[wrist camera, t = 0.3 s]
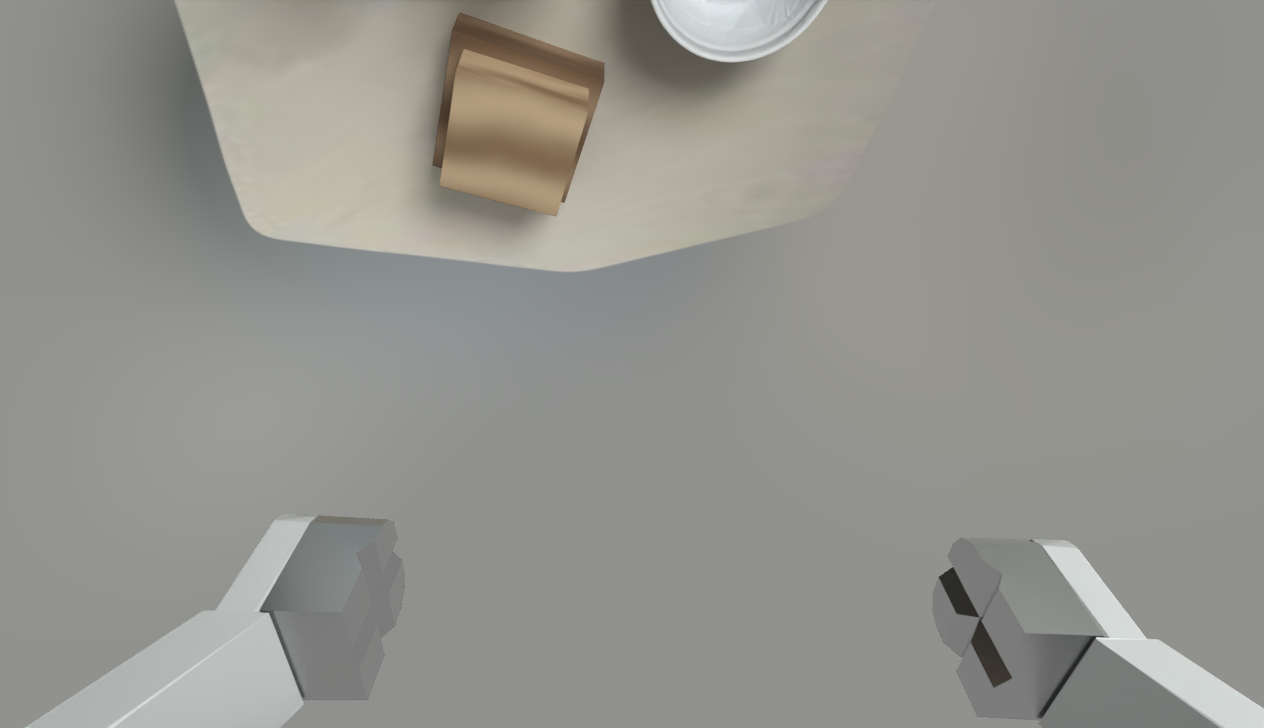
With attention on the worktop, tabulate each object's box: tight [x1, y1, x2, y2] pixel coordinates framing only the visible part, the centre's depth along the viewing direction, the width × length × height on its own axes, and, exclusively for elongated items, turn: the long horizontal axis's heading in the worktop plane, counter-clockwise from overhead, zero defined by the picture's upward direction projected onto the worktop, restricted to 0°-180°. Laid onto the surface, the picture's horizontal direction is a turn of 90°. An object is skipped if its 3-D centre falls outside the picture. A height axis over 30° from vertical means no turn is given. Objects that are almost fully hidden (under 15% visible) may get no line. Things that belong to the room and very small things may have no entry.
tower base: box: [433, 13, 604, 203], centre depth 56 cm, size 12×12×4 cm
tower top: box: [439, 49, 589, 216], centre depth 53 cm, size 10×10×4 cm
